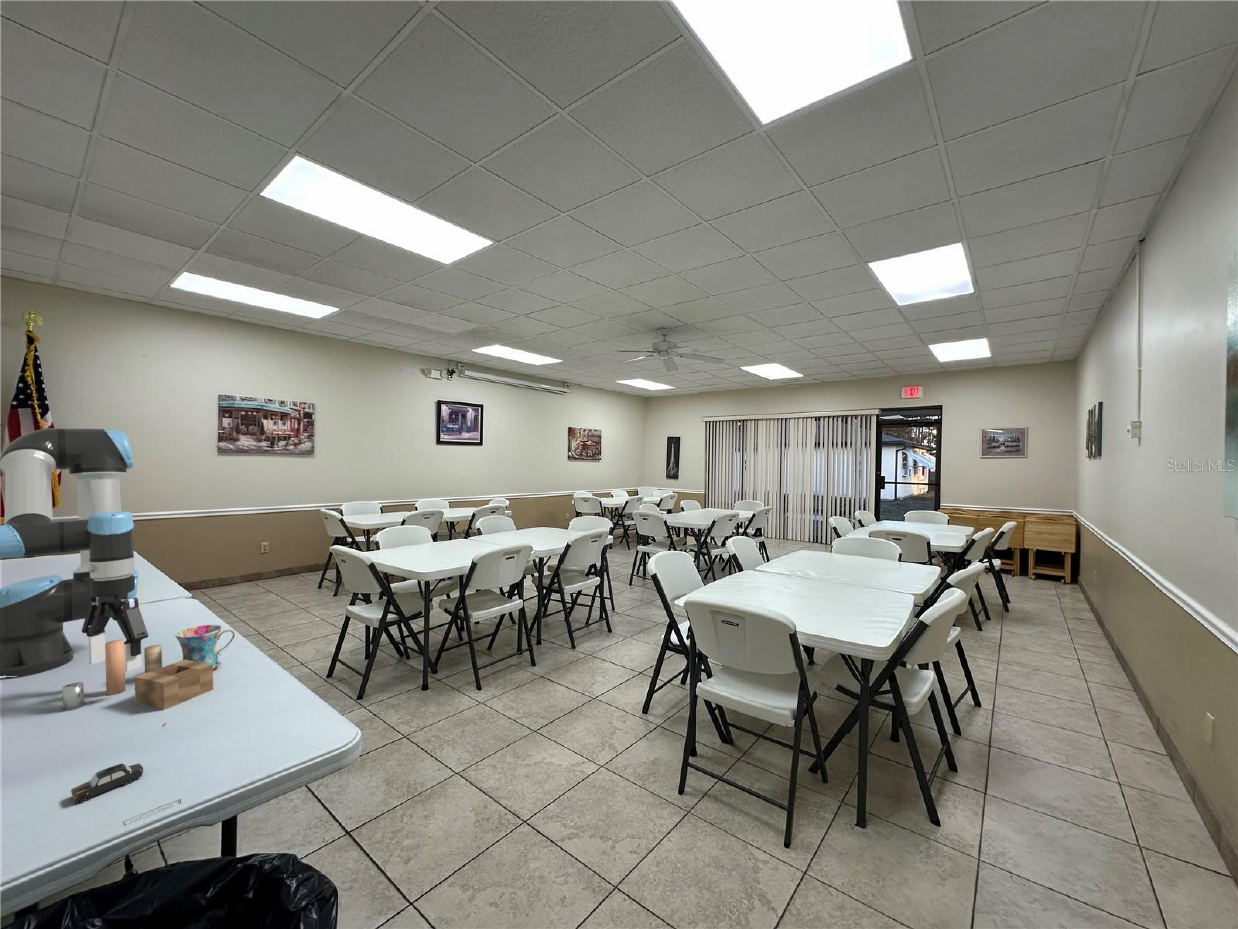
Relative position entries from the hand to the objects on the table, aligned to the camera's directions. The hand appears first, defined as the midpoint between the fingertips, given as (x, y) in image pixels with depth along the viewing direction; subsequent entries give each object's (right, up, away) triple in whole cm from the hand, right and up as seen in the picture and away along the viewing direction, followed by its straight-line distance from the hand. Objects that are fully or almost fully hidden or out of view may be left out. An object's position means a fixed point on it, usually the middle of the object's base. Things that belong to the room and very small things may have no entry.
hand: (115, 665), depth 119 cm
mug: (+11, -6, +13) cm, 18 cm away
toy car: (+34, -7, -33) cm, 48 cm away
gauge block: (+16, -6, -2) cm, 17 cm away
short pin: (-3, -7, -7) cm, 10 cm away
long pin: (0, -6, 0) cm, 6 cm away
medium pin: (+2, -6, +7) cm, 10 cm away
